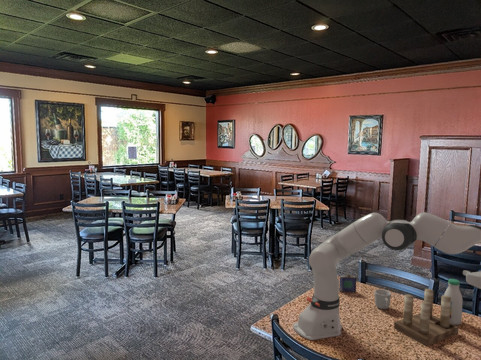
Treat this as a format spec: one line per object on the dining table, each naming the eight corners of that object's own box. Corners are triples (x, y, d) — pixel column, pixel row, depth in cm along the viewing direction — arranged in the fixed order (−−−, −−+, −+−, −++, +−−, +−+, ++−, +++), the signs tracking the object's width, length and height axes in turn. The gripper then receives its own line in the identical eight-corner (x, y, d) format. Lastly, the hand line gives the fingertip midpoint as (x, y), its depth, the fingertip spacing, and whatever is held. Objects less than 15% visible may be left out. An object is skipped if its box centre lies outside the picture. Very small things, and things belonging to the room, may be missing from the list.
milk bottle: (458, 318, 166) (461, 278, 164) (463, 326, 159) (465, 284, 157) (440, 316, 168) (442, 276, 167) (444, 323, 161) (446, 282, 159)
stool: (426, 346, 143) (428, 309, 141) (394, 328, 157) (395, 294, 156) (458, 333, 153) (460, 298, 151) (424, 317, 167) (426, 285, 165)
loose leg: (449, 334, 152) (451, 299, 151) (439, 332, 154) (441, 297, 152) (448, 330, 155) (450, 296, 154) (439, 328, 157) (441, 294, 155)
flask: (339, 292, 197) (340, 273, 196) (338, 290, 199) (339, 272, 199) (356, 292, 196) (357, 274, 195) (355, 290, 198) (355, 272, 198)
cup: (395, 313, 171) (396, 298, 170) (379, 313, 171) (380, 297, 171) (386, 303, 182) (387, 289, 181) (371, 303, 182) (372, 288, 181)
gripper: (528, 272, 130) (492, 261, 143) (488, 277, 124) (454, 265, 137) (527, 288, 131) (491, 276, 144) (487, 294, 125) (453, 281, 138)
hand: (473, 271), depth 140 cm, fingers open, 8 cm apart
